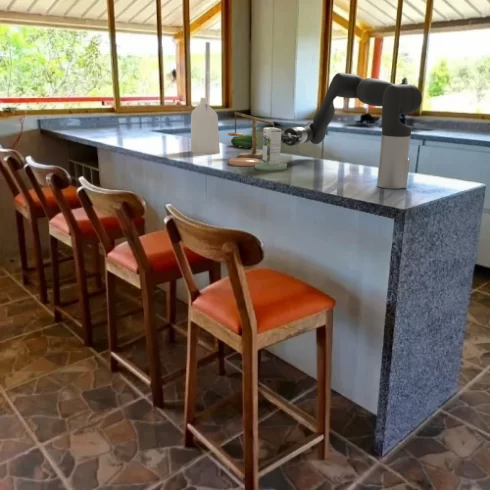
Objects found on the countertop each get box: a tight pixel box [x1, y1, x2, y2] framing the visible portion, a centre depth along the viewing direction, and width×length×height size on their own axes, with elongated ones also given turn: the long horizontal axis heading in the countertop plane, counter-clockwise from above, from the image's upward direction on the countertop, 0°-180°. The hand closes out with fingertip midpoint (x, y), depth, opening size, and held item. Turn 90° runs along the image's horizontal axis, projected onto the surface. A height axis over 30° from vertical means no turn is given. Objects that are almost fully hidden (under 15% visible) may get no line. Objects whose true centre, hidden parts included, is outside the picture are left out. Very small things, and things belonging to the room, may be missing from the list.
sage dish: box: [254, 161, 288, 172], centre depth 196 cm, size 13×13×2 cm
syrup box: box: [261, 126, 282, 165], centre depth 194 cm, size 6×6×14 cm
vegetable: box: [230, 134, 259, 149], centre depth 256 cm, size 7×7×20 cm
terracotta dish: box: [228, 157, 260, 167], centre depth 205 cm, size 13×13×2 cm
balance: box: [227, 111, 275, 159], centre depth 220 cm, size 24×7×20 cm, turn 91°
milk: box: [190, 97, 221, 155], centre depth 233 cm, size 12×12×26 cm
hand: (274, 139), depth 195 cm, fingers open, 8 cm apart
